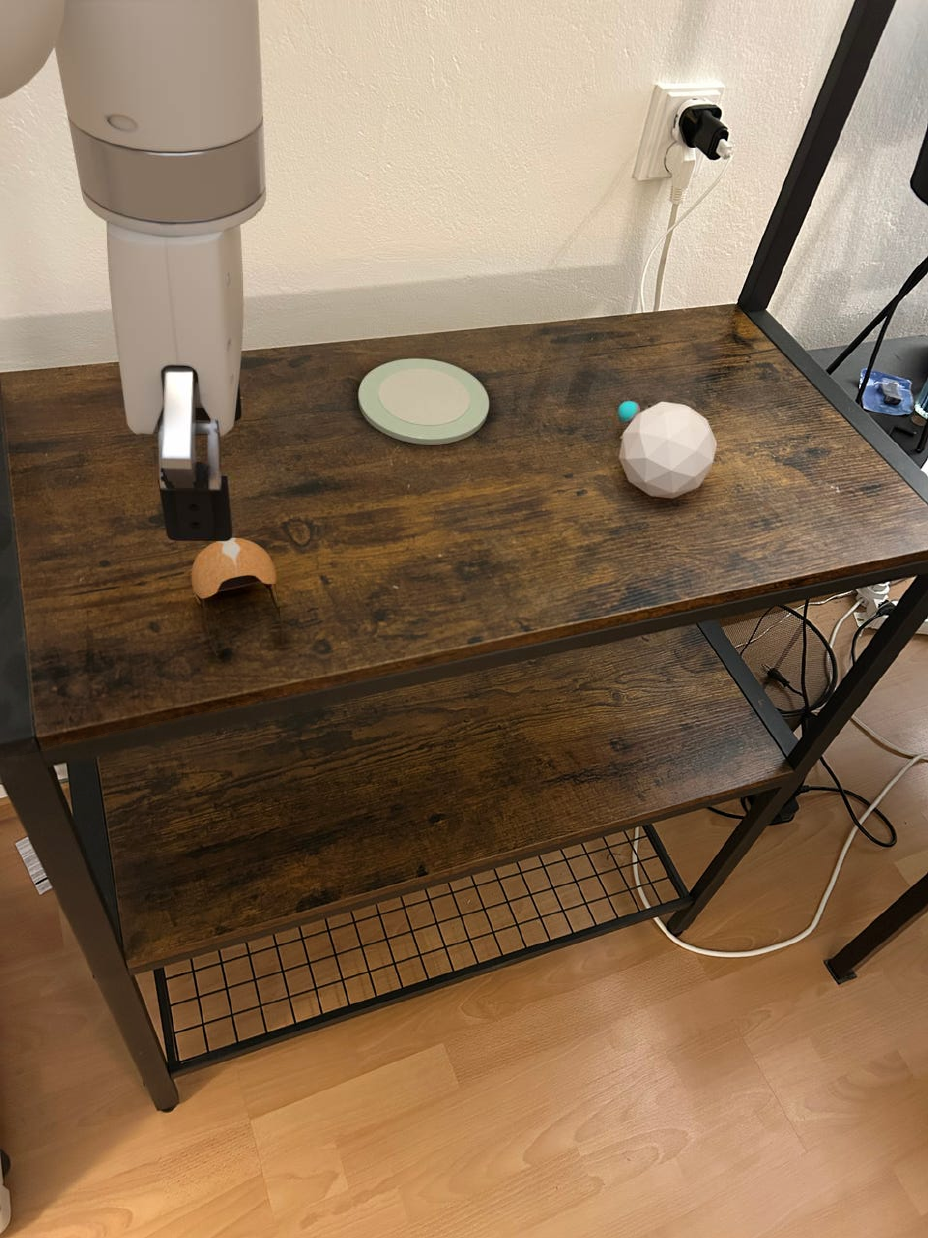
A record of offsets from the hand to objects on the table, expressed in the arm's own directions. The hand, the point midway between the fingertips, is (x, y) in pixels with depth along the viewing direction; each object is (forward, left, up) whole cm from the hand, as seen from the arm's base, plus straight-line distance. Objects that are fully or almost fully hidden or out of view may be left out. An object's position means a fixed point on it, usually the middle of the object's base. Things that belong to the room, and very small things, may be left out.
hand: (207, 473), depth 53 cm
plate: (+24, +26, -19) cm, 40 cm away
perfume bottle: (+40, +12, -19) cm, 46 cm away
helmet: (+2, +6, -19) cm, 20 cm away
